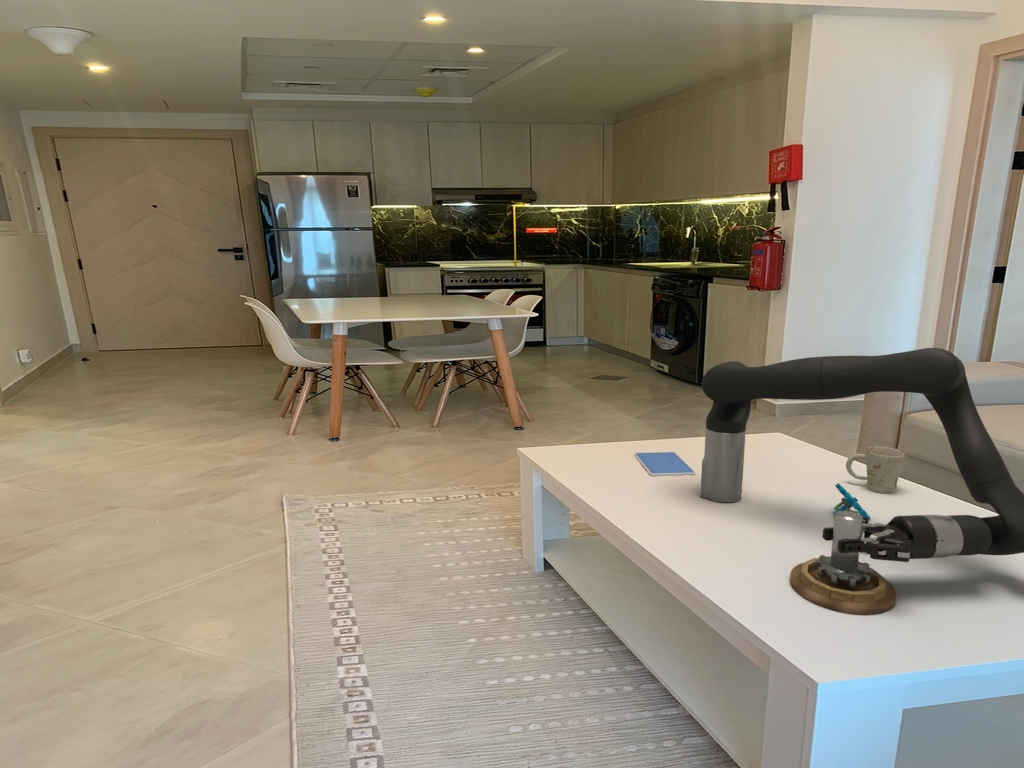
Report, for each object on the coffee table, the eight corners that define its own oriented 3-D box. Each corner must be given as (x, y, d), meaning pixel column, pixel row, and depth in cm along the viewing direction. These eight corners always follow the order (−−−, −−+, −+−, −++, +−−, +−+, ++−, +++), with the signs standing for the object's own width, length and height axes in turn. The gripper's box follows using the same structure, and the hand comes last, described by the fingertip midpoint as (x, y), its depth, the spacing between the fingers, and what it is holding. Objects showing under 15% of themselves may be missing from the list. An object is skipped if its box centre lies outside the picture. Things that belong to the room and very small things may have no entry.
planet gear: (813, 579, 116) (817, 520, 114) (815, 557, 124) (820, 502, 122) (873, 591, 112) (880, 530, 110) (872, 567, 120) (878, 510, 118)
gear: (876, 521, 143) (842, 485, 145) (853, 538, 145) (820, 502, 147) (868, 510, 153) (837, 476, 155) (847, 525, 155) (816, 491, 157)
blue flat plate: (633, 456, 196) (633, 452, 196) (675, 455, 197) (675, 450, 197) (650, 478, 177) (650, 474, 177) (696, 477, 178) (696, 472, 178)
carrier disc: (786, 600, 115) (787, 586, 114) (793, 559, 130) (794, 546, 129) (898, 624, 107) (900, 609, 107) (893, 578, 122) (894, 564, 122)
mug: (899, 497, 161) (903, 458, 159) (842, 488, 167) (845, 450, 165) (900, 487, 168) (905, 449, 166) (845, 478, 174) (849, 442, 172)
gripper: (901, 501, 124) (812, 504, 123) (956, 533, 110) (855, 537, 109) (897, 538, 125) (809, 542, 124) (950, 575, 111) (851, 579, 110)
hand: (831, 540), depth 117 cm, fingers closed on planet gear, 4 cm apart
